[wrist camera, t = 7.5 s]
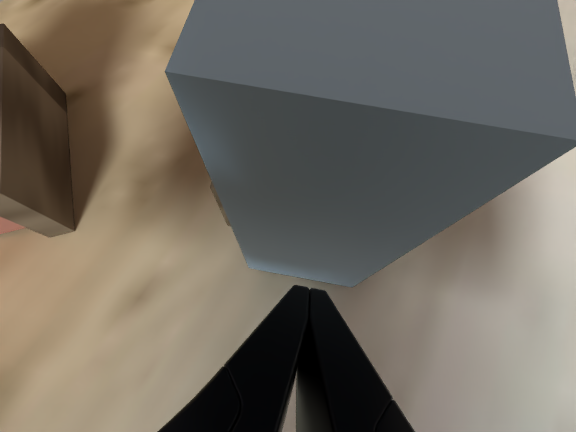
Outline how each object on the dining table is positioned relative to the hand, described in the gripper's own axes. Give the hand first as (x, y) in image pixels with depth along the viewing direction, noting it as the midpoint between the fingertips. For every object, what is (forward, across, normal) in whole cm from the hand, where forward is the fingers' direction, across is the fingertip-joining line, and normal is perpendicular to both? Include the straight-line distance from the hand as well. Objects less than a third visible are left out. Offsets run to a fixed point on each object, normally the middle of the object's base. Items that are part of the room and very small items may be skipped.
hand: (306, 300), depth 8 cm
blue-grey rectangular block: (+7, 0, +2) cm, 8 cm away
